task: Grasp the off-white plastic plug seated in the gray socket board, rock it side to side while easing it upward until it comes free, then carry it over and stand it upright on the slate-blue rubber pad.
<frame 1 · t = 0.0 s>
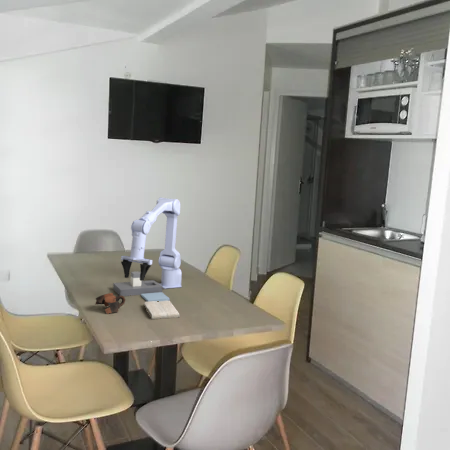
hand: (134, 279, 213), 11 cm above the table, tool pointing down, fingers open, 7 cm apart
pad: (155, 298, 222), on the table
broken clay pot: (110, 310, 203), on the table
gray socket board: (137, 291, 232), on the table
plug: (135, 291, 231), resting in gray socket board
washcloth: (160, 313, 205), on the table
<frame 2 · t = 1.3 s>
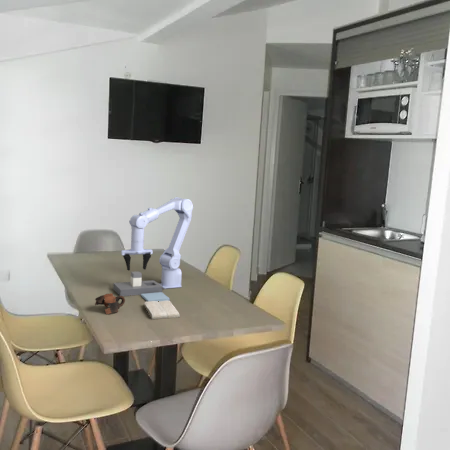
hand: (136, 269, 230), 10 cm above the table, tool pointing down, fingers open, 7 cm apart
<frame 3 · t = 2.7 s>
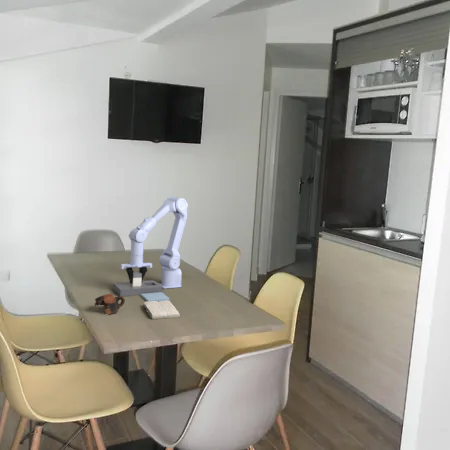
hand: (135, 283, 231), 4 cm above the table, tool pointing down, fingers closed on plug, 4 cm apart
plug: (135, 291, 231), resting in gray socket board, touching gripper
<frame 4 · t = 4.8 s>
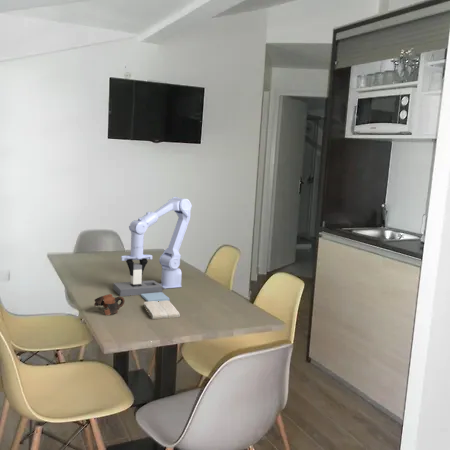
hand: (136, 274, 230), 8 cm above the table, tool pointing down, fingers closed on plug, 4 cm apart
plug: (135, 283, 231), point 4 cm above the table, touching gripper
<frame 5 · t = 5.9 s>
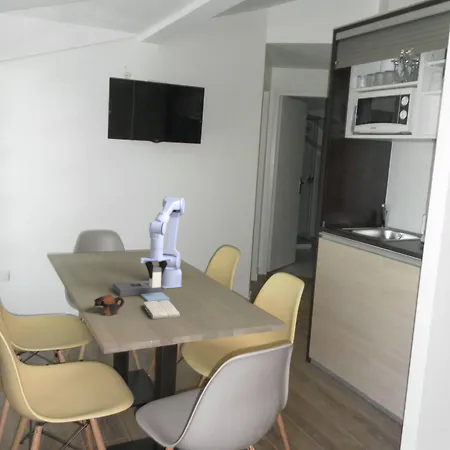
hand: (155, 277, 221), 9 cm above the table, tool pointing down, fingers closed on plug, 4 cm apart
plug: (154, 286, 222), point 5 cm above the table, touching gripper
when the fingers open (6 cm above the table, at t = 6.9 s): plug drops 1 cm, resting on pad.
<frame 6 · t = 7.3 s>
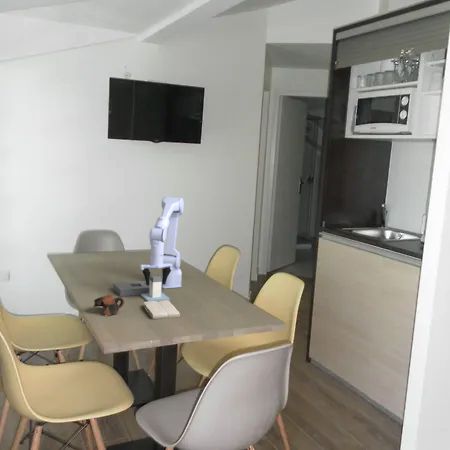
hand: (155, 284, 221), 6 cm above the table, tool pointing down, fingers open, 7 cm apart
plug: (155, 296, 222), point 1 cm above the table, touching pad
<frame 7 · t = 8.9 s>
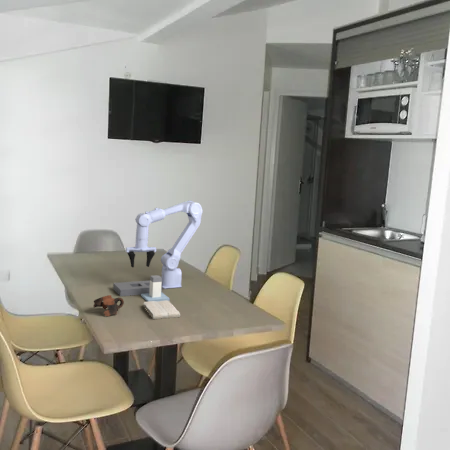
hand: (140, 266, 236), 10 cm above the table, tool pointing down, fingers open, 7 cm apart
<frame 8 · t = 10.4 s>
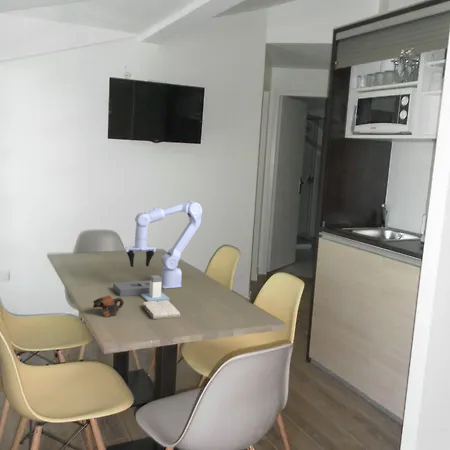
hand: (139, 266, 237), 10 cm above the table, tool pointing down, fingers open, 7 cm apart
at the end: plug 0.2 cm off-centre on the pad, point 1.0 cm above the pad's base; plug tilted 0°; the gripper is holding nothing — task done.
